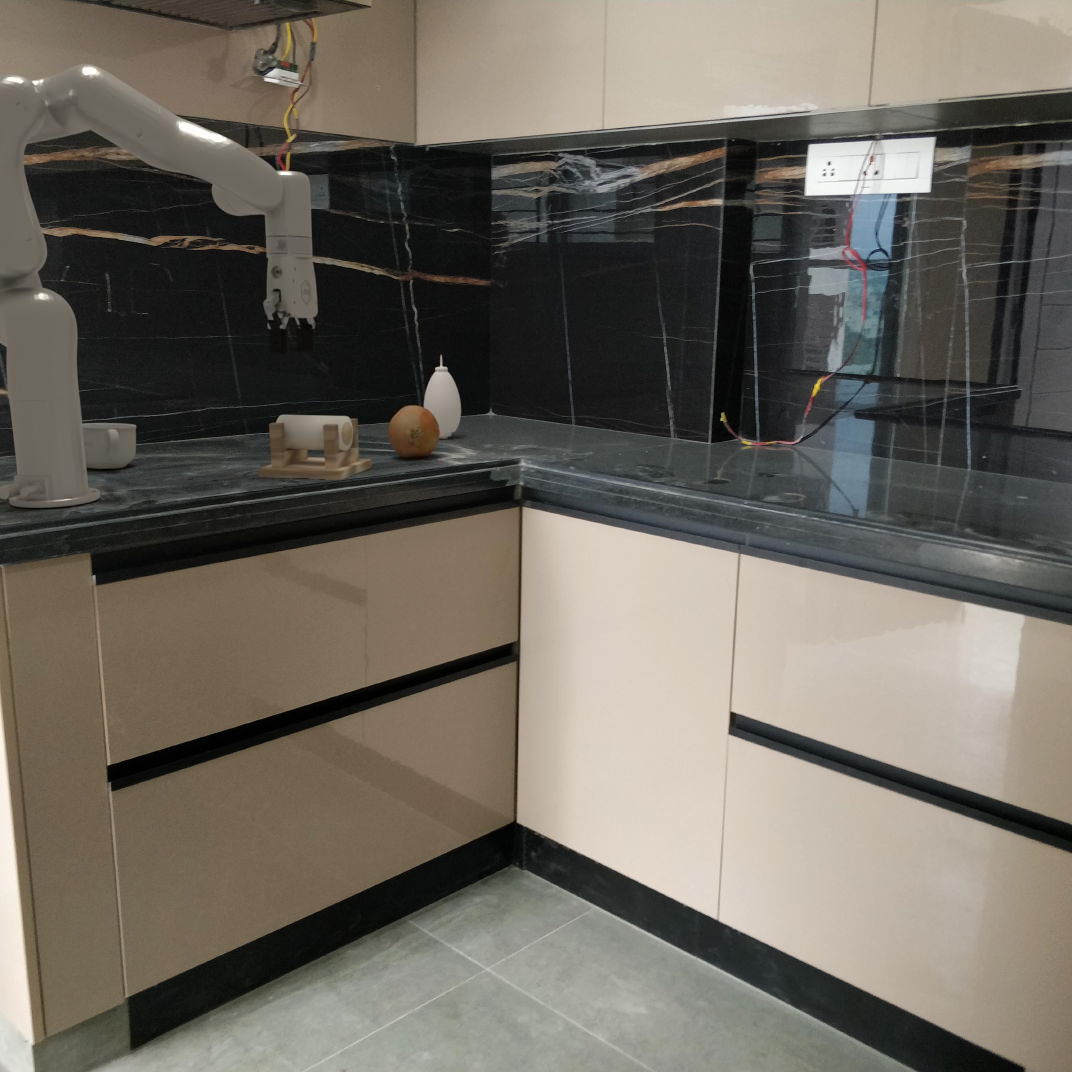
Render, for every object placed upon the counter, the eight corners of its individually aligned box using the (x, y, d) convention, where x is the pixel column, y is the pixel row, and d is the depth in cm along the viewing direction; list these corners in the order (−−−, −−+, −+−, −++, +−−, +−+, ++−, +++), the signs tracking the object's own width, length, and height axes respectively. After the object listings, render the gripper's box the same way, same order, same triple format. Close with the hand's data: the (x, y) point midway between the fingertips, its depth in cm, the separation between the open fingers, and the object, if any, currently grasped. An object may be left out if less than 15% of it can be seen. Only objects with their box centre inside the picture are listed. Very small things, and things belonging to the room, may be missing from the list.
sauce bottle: (417, 438, 232) (415, 354, 228) (443, 435, 238) (441, 353, 234) (442, 441, 227) (440, 356, 223) (468, 437, 233) (466, 354, 229)
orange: (396, 463, 198) (394, 409, 196) (383, 456, 207) (381, 404, 205) (446, 460, 201) (445, 407, 199) (431, 453, 210) (430, 402, 208)
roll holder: (339, 480, 179) (337, 426, 177) (258, 477, 183) (255, 424, 181) (371, 467, 192) (369, 417, 191) (295, 464, 196) (292, 415, 194)
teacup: (76, 465, 197) (72, 421, 195) (138, 461, 201) (135, 419, 199) (74, 476, 185) (70, 430, 183) (141, 472, 188) (137, 427, 187)
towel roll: (341, 453, 182) (339, 418, 181) (274, 451, 185) (272, 416, 184) (354, 448, 188) (353, 414, 187) (290, 446, 191) (288, 413, 190)
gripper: (285, 245, 169) (289, 354, 173) (332, 251, 186) (334, 351, 189) (243, 246, 171) (247, 353, 175) (292, 252, 188) (296, 350, 191)
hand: (293, 352), depth 182 cm, fingers open, 9 cm apart
